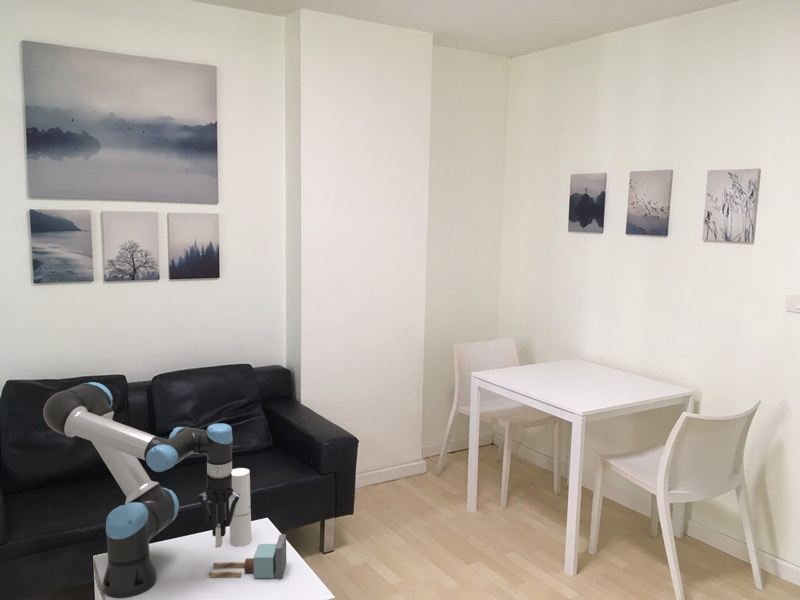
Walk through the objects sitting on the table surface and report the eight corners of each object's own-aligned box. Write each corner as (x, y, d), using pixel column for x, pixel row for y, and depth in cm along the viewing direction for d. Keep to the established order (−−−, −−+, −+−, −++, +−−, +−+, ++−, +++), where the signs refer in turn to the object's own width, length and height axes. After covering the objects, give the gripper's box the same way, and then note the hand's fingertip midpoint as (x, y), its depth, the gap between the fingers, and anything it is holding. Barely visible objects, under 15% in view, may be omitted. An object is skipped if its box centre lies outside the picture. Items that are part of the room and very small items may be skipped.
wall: (275, 579, 200) (275, 548, 199) (280, 563, 209) (279, 534, 208) (282, 578, 200) (281, 548, 199) (286, 563, 209) (285, 534, 208)
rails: (208, 577, 200) (208, 573, 200) (213, 566, 207) (213, 562, 207) (240, 577, 201) (240, 572, 201) (245, 566, 207) (245, 562, 207)
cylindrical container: (254, 536, 227) (252, 468, 224) (247, 546, 220) (245, 476, 217) (234, 535, 228) (232, 467, 225) (227, 545, 220) (225, 475, 218)
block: (253, 578, 200) (253, 557, 199) (259, 563, 208) (258, 543, 208) (273, 577, 200) (273, 557, 199) (277, 563, 208) (277, 543, 208)
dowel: (244, 573, 202) (244, 560, 203) (246, 570, 206) (247, 557, 207) (269, 573, 202) (270, 559, 203) (272, 569, 206) (272, 556, 207)
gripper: (194, 478, 197) (194, 550, 200) (237, 479, 198) (236, 551, 201) (201, 468, 205) (201, 538, 208) (243, 469, 205) (242, 540, 208)
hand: (218, 545), depth 204 cm, fingers closed
